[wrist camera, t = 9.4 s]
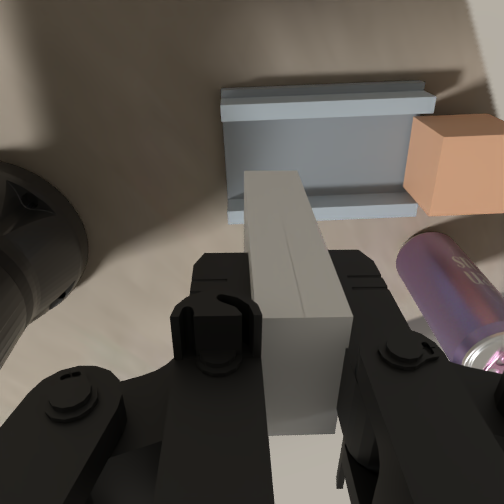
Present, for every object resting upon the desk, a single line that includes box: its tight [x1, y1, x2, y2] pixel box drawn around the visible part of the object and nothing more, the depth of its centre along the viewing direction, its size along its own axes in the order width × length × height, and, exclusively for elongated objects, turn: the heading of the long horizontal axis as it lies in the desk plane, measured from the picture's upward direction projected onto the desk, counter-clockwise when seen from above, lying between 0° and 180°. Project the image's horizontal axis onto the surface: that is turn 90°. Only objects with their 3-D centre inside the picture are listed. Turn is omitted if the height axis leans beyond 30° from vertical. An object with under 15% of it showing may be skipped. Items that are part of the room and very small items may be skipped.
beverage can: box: [396, 232, 504, 374], centre depth 37 cm, size 6×6×15 cm
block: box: [403, 114, 504, 216], centre depth 34 cm, size 6×6×6 cm
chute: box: [220, 80, 436, 224], centre depth 37 cm, size 16×11×4 cm
